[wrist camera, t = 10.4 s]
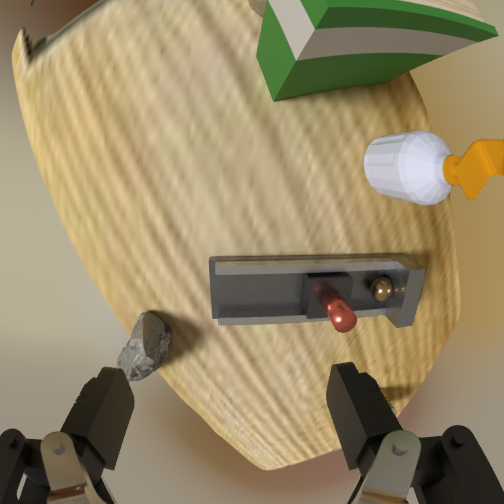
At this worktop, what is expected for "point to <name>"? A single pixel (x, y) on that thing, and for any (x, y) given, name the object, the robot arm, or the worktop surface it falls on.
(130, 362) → the mineral rock
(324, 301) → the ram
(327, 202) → the worktop surface
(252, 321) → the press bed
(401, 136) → the soap bottle
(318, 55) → the hardback book
